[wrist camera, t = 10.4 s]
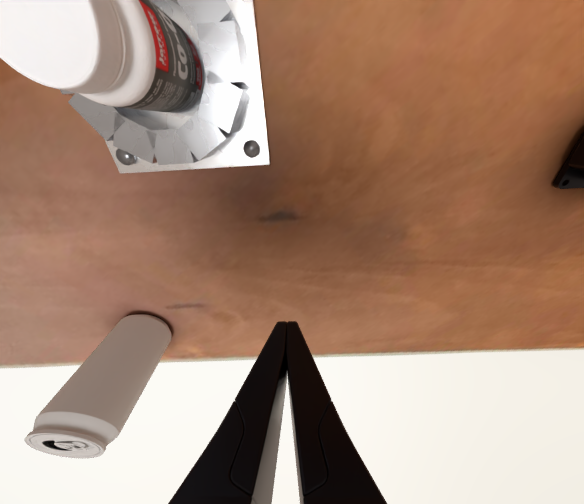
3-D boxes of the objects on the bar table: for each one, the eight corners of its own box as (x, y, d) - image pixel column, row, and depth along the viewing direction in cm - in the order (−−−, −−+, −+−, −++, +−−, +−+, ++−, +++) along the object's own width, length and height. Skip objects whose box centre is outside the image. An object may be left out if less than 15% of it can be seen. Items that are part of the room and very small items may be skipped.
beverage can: (112, 312, 26) (-5, 436, 16) (161, 307, 25) (73, 431, 15) (138, 344, 29) (56, 463, 19) (182, 340, 29) (122, 459, 18)
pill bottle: (220, 87, 14) (144, 48, 7) (168, 127, 15) (58, 130, 8) (165, -7, 12) (-31, -213, 5) (110, 49, 13) (-116, -45, 6)
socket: (244, -90, 11) (228, -161, 8) (270, 163, 17) (266, 170, 14) (17, -69, 11) (-71, -131, 8) (125, 171, 17) (95, 180, 15)
